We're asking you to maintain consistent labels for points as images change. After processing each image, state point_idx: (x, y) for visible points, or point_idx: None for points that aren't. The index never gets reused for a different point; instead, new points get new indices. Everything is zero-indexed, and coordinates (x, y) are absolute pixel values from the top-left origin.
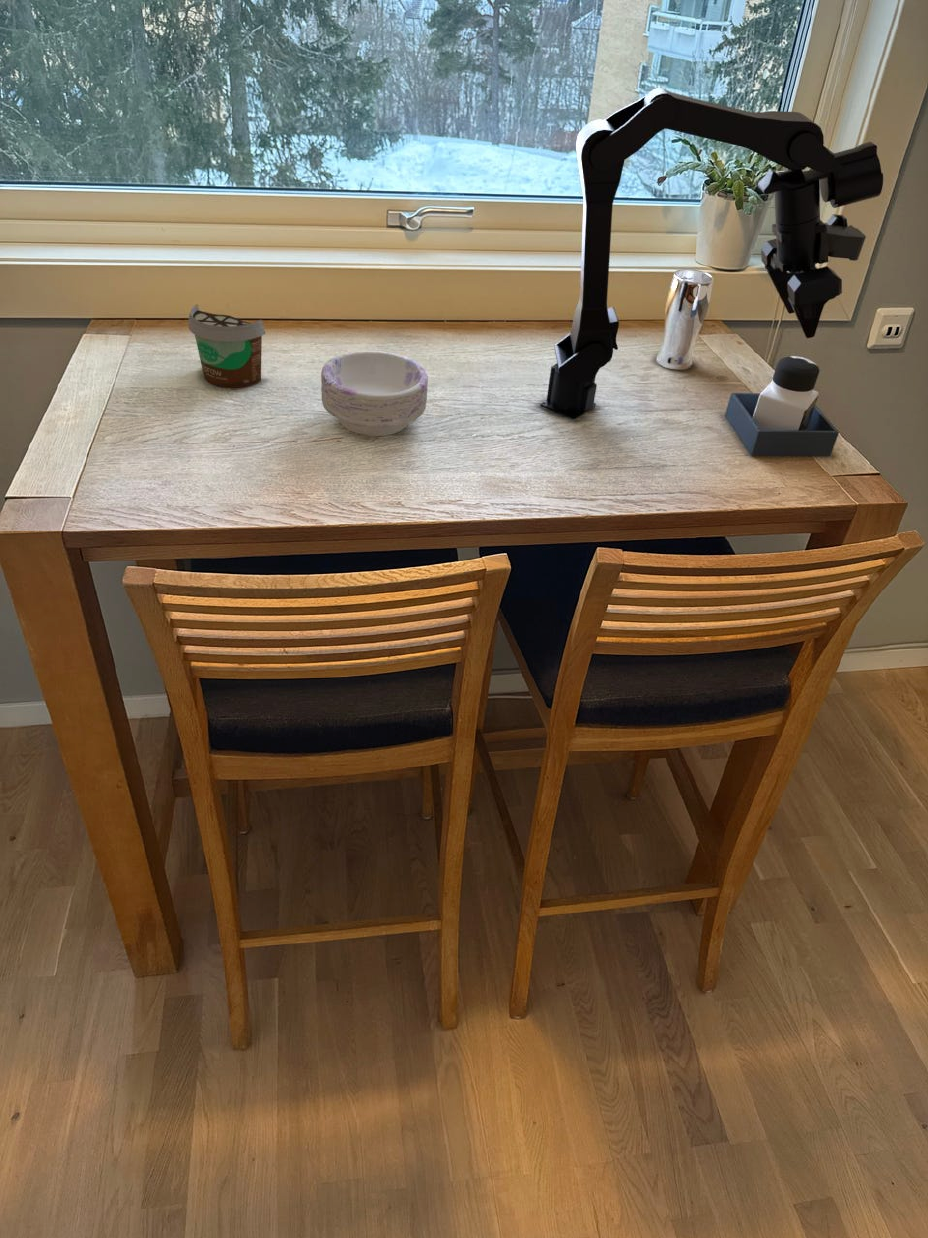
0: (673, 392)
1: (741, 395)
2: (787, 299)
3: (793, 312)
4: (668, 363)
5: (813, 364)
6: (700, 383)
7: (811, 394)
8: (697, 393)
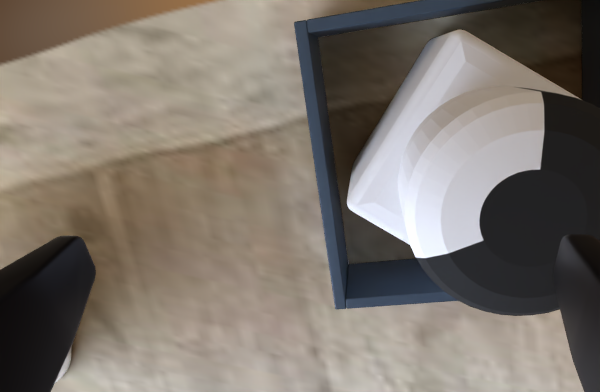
0: (218, 380)
1: (341, 273)
2: (38, 369)
3: (87, 249)
4: (60, 374)
5: (554, 140)
6: (139, 295)
7: (503, 79)
8: (207, 317)
